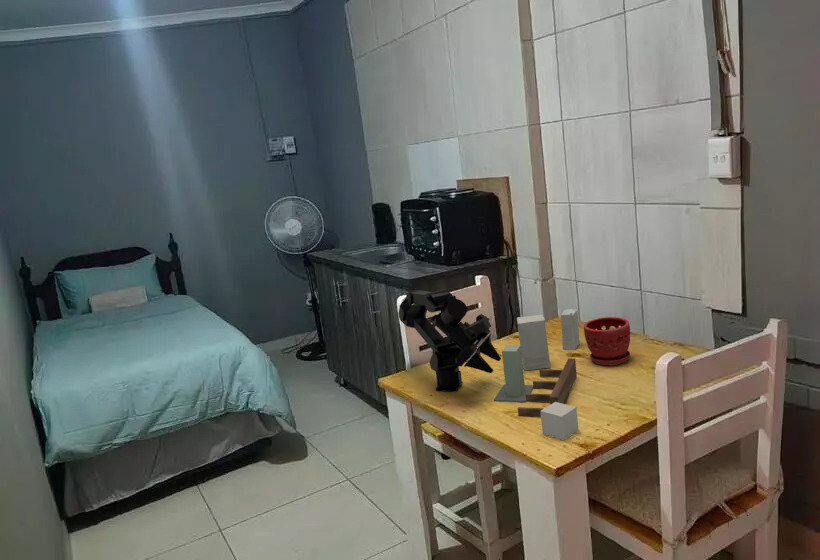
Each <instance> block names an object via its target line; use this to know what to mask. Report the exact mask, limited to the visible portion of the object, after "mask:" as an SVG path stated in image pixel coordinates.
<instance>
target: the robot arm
mask: <svg viewBox="0 0 820 560" xmlns="http://www.w3.org/2000/svg"><path fill="white" fill-rule="evenodd" d="M427 312H429V313H431V314H432V313H433V314H434V313H436V312H438V314H434V315H433V316H432V318H431V319H430V320H431V321H430V320H429V319H428V318H427ZM467 313H468V307H467V304H466V303H465V302H463V301H462V300H461V299H459V298H457V297H456V295H453V294H452V293H451V292H450V291H449V290H448V289H446V288H445V289H441V290H435V291H427V290H426V291H425V290H423V289H417V290H416V289H415V290H410V291H408V292H407V293H406V296H405V298H404V300H403V301H402V302H401V303H400V305H399V309H398V318H399V321H400V322H402V324H404V326H406V327H407V328H412V329H415V330H416V331H417V333H418V334H419V336H421V338H422V340H424V342H426V345H428V346H429V348H430V349H431V351H432V355H431V357H430V359H429V365H430V368H431V370H433V372H435V377H436V384H437V386H436V387H435V391H437V392H438V391H440V392H441V391H443V392H456V391H458V390H459V388H460V387H461V386H462V385H463V383H464V382H463V379H462V372H461V370H460V368H459V367H465V368H466V367H467V368H471V369H476V370H479V371H482V372H486V373H489V374H492V373H493V372H494V369H493V368H492V366H491V365H490V364H489V363H488V362H487V361H486V360H485V359H484V358H483V357H482V356H481V354H483V355H484V356H486V357H489V358H491V359H493V360H495V361H497V362H500V361H501V360H502V356H500V354H499V353H498V351H497V349H496V348H495V347H494V345H493V343H492V340H491V339H492V338H491V336H492V333H491V330H490V328H491V327H492V324H491V323H490V317H487V315H484V314H483V313H480V314H478V315H477V316H476V317H475V321H474V322H472V323H471V324H470V323H469V322H468V321H465V322H464V323H463V321H462V320H463V318H464V317H466V315H467ZM436 328H437V329H436ZM438 329H439V330H440V331H441V332H442V333H443V335H444V334H445V337H444V336H443V335H442V334H441V333H440V332H439V331H438Z"/></svg>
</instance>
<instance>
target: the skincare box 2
mask: <svg viewBox="0 0 820 560" xmlns="http://www.w3.org/2000/svg"><path fill="white" fill-rule="evenodd" d="M560 322H561V323H560V325H561V338H562V339H561V341H562V349H563V350H568V351H569V350H570V351H571V350H573V351H574V350H577V348H578V347H579V345H580V343H581V341H580V329H579V327H580V326H579V313H578V309H577V308H574V309H570V308H569V309H568V308H567V309H564V310H563V312H562V313H561V314H560Z"/></svg>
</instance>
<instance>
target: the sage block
mask: <svg viewBox="0 0 820 560" xmlns="http://www.w3.org/2000/svg"><path fill="white" fill-rule="evenodd" d="M501 355H502V356H501V358H502V364H503V365H502V366H503V375H504V384H506V393H507V396H521V395H522V394H523V392H524V390H525V385H526V383H525V375H524V367H523V363H522V355H521V345H520V344H509V345H508V344H506V345H505V346H504V347H503V349H502V351H501Z"/></svg>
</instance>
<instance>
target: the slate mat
mask: <svg viewBox="0 0 820 560" xmlns="http://www.w3.org/2000/svg"><path fill="white" fill-rule="evenodd" d="M533 389H534V388H533V384H525V390H524V392H523V394H522V395H521V396H507V393H506V384H505V383H504V384H503V385H502V386H501V388H500V390H499V391H498V392H497V394H496V395H495V397H494V398H493V401H494V402H505V403H506V402H507V403H526V402H527V401H526V393H531V394H532V391H533Z"/></svg>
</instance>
